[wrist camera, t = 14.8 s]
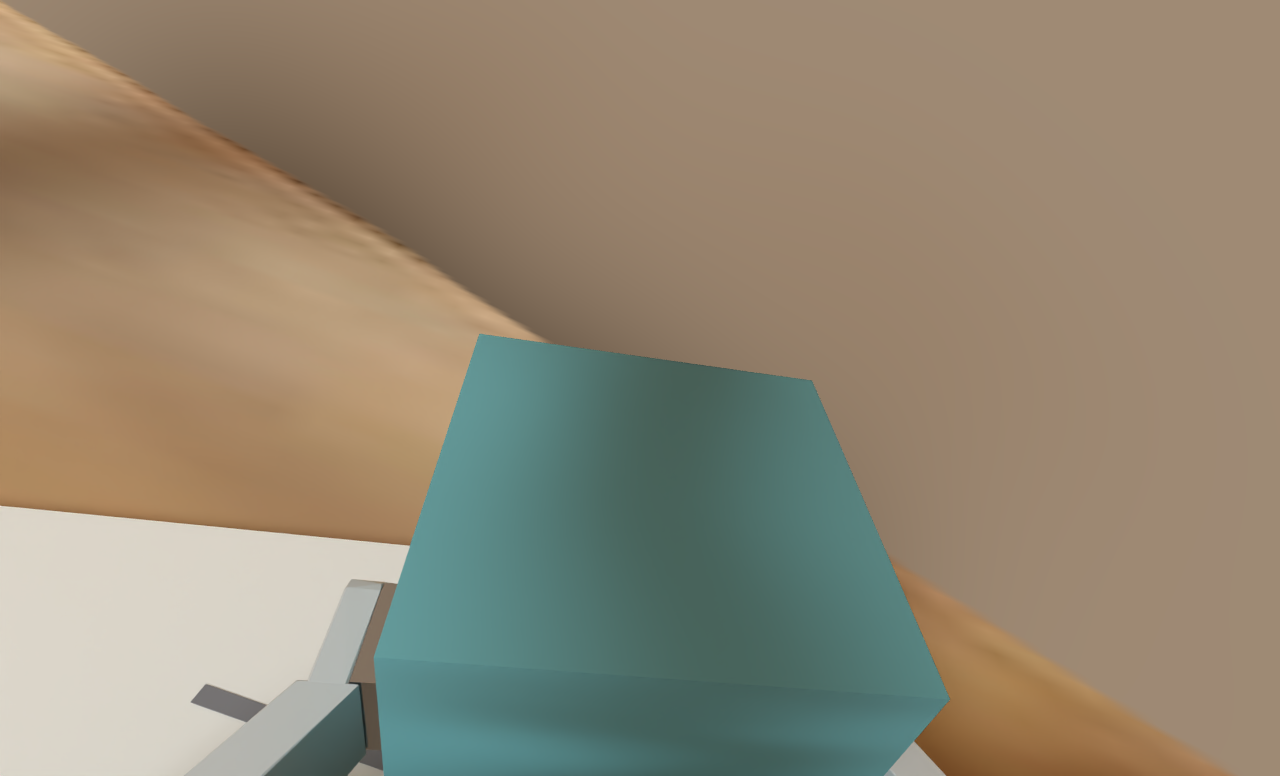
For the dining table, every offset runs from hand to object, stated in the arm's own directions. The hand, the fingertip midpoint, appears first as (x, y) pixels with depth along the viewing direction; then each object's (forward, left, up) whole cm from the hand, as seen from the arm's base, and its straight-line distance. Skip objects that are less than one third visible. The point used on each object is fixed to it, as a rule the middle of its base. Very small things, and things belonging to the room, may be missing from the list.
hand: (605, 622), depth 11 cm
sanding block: (0, -1, -5) cm, 5 cm away
